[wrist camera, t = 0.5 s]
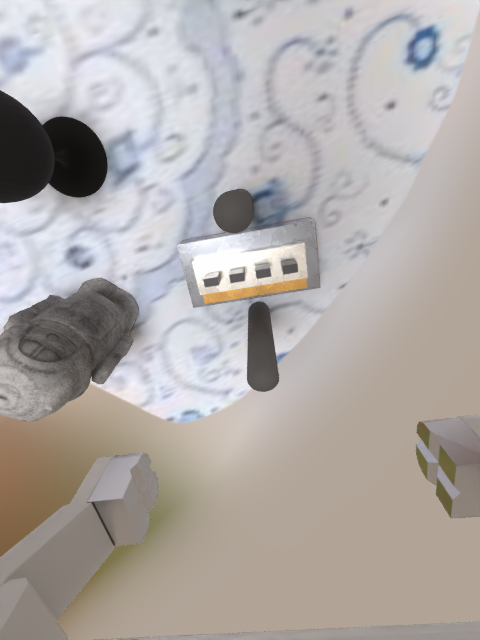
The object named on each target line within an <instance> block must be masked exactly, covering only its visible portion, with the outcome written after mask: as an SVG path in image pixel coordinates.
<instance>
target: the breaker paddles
mask: <svg viewBox="0 0 480 640" xmlns="http://www.w3.org/2000/svg"><path fill="white" fill-rule="evenodd" d="M280 262H281V270H282V272H283V275H285V274H291V273H297V272H298V264H297V262H296V260H295V259H290V260H284V261H280ZM255 271H256V278H257V279H260V278H266V277H271V270H270V265H269V263H267V264H261V265H255ZM229 278H230V283H236V282H242V281H245V270H244V267H243V268H237V269H231V270H230V273H229ZM220 281H221V277H220V273H219V272H214V273H208V274H205V276H204V278H203V282H204V286H205V288H206V287H212V286H218V285H219V284H220Z"/></svg>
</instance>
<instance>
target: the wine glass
mask: <svg viewBox="0 0 480 640" xmlns="http://www.w3.org/2000/svg"><path fill="white" fill-rule="evenodd" d="M106 173H107V158H106V154H105V150H104V148H103V145H102V143H101V141H100V140H99V138H98V137H97V135H96V134H95V133H94V132H93V131H92V130H91V129H90V128H89V127H88V126H87V125H85V124H84V123H82V122H80V121H78V120H76V119H73V118H69V117H56V118H53V119H50V120H49V121H47V122H46V123H44V124H43V125H41V123H40V122H39V121H38V119H37V118H36V117H35V116H34V115H33V114H32V113H31V112H30V111H29V110H28V109H27V108H26V107H25V106H23V105H22V104H21V103H20V102H18V101H17V100H16V99H14V98H13V97H11V96H9V95H8V94H6V93H4V92H2V91H1V90H0V203H10V202H18V201H22V200H25V199H28V198H31V197H32V196H34V195H36V194H38V193H39V192H40V191H41V190H43V189H44V188H45V187H46V185H47V184H48V183H49V184H50V185H51V186H52V187H54V188H55V189H56V190H58V191H59V192H61V193H63V194H65V195H68V196H71V197H86V196H89V195H91V194H93V193H95V192H96V191H97V190H99V188H100V187H101V186H102V184H103V182H104V180H105V177H106Z"/></svg>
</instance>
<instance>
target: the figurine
mask: <svg viewBox="0 0 480 640" xmlns="http://www.w3.org/2000/svg"><path fill="white" fill-rule="evenodd" d="M138 313H139V309H138V306H137V303H136V301H135V299H134V298H133V297H132V295H130V294H129V293H127V292H126V291H124V290H122V289H119V288H118V287H117V286H115V285H114V284H112V283H110V282H108V281H107V280H104V279H102V278H97V279H91V280H88V281H85V282H84V283H82V285H81V287H80V289H79V291H78V293H76V294H74V295H72V296H70V297H68V298H67V299H63V298H61V297H59V296H54V295H49V297H48V298H47V299H46V300H43V301H41V302H39V303H37V304H35V305H33V306H32V307H30V308H27V309H25V310H22V311H20V312H18V313H16V314H14V315H12V316H10V317H9V320H8V322H7V323H6V324H5V326H4V327H3V328H4V332H3V333H2V334H1V336H0V414H1V415H4V416H7V417H10V418H14V419H20V420H23V421H27V420H31V421H35V420H38V419H40V418H43V417H45V416H47V415H50V414H51V413H54V412H56V411H57V410H58V409H60V408H61V407H62V406H64V405H65V404H66V403H67V402H69V401H71V400H74V399H76V398H77V397H79V396H80V395H82V394H83V393H84V391H85V390H86V389H87V388H88V386H89V383H90V379H91V376H92V381H93V382H95V383H97V384H104V382H105V381H106V380H107V378H108V377H109V376H110V374H111V373H112V372H113V370H114V368H115V367H116V365H117V364H118V363H119V362H120V360H121V359H122V358H123V357H124V356H125V355H126V354H127V352H128V351H129V349H130V347H131V345H132V343H133V339H132V337H131V336H129V333H130V331H131V329H132V327H133V325H134V323H135V321H136V318H137V316H138Z"/></svg>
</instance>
